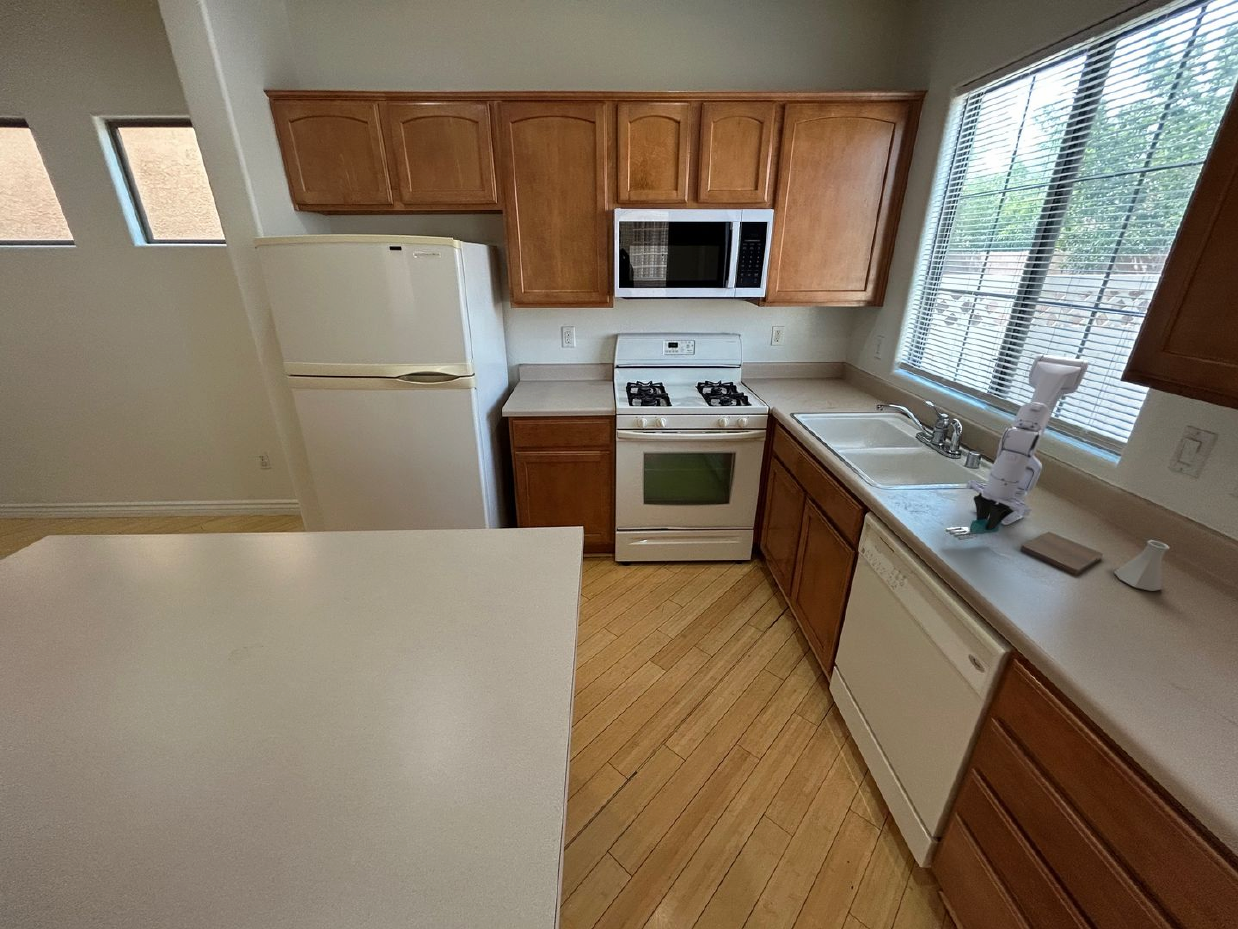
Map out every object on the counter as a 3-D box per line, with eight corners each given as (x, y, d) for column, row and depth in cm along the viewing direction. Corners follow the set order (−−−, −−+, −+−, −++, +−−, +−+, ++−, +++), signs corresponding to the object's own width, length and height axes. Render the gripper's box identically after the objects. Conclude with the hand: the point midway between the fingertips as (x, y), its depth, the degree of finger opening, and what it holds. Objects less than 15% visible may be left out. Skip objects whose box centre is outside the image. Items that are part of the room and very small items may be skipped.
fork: (986, 525, 120) (990, 515, 119) (1002, 534, 116) (1006, 524, 115) (944, 531, 117) (948, 520, 116) (959, 540, 113) (963, 529, 112)
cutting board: (1046, 536, 123) (1048, 531, 122) (1100, 558, 114) (1103, 553, 113) (1019, 550, 116) (1021, 545, 116) (1075, 575, 108) (1078, 570, 107)
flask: (1139, 572, 109) (1161, 536, 105) (1169, 593, 103) (1193, 555, 99) (1105, 570, 110) (1126, 533, 106) (1133, 590, 103) (1156, 552, 99)
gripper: (964, 465, 117) (946, 513, 122) (1022, 493, 104) (1000, 544, 110) (986, 463, 118) (968, 510, 124) (1047, 490, 106) (1023, 541, 111)
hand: (984, 526), depth 117 cm, fingers closed on fork, 2 cm apart
